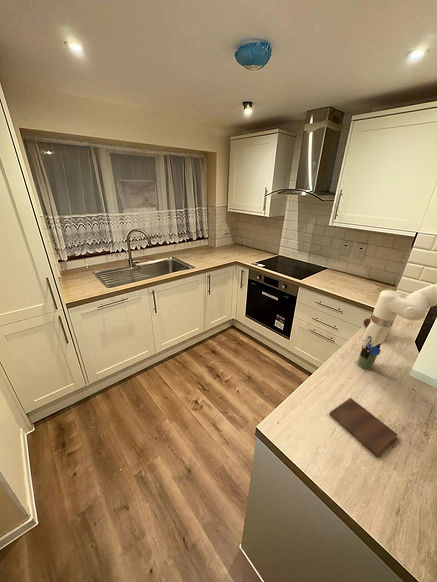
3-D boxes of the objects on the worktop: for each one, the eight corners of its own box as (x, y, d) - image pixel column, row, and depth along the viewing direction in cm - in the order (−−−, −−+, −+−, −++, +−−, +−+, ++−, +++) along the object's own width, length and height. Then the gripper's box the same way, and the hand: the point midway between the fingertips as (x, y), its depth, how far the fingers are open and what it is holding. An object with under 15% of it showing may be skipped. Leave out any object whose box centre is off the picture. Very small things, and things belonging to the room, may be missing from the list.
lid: (357, 348, 103) (358, 345, 102) (366, 343, 106) (367, 341, 105) (373, 357, 97) (374, 354, 97) (382, 352, 101) (383, 349, 100)
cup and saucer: (370, 334, 127) (374, 324, 125) (358, 322, 138) (361, 313, 135) (392, 334, 128) (396, 325, 125) (377, 322, 139) (381, 313, 136)
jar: (374, 367, 104) (381, 350, 100) (367, 371, 102) (374, 355, 98) (361, 358, 109) (367, 343, 105) (354, 363, 106) (360, 347, 102)
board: (396, 437, 75) (397, 434, 75) (376, 457, 70) (377, 453, 69) (349, 400, 88) (350, 397, 87) (329, 414, 82) (330, 411, 81)
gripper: (383, 310, 102) (371, 343, 110) (360, 320, 94) (348, 355, 101) (402, 318, 96) (388, 353, 104) (380, 330, 88) (366, 366, 96)
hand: (368, 354), depth 103 cm, fingers closed on lid, 6 cm apart
